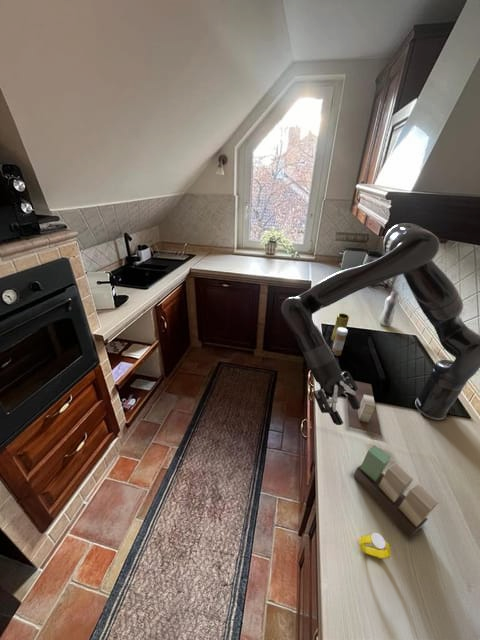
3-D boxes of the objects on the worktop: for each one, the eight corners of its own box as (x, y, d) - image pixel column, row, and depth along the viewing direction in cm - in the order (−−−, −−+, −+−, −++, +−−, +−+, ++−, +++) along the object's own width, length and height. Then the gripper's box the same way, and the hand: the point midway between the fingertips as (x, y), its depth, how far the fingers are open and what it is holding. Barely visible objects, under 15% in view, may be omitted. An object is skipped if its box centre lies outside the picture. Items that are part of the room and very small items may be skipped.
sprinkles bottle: (333, 349, 123) (340, 325, 117) (342, 353, 121) (349, 329, 114) (329, 353, 120) (335, 329, 114) (338, 357, 118) (345, 333, 111)
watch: (384, 550, 57) (393, 538, 54) (387, 565, 55) (396, 554, 52) (356, 539, 59) (363, 527, 56) (357, 554, 56) (364, 542, 53)
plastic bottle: (388, 328, 141) (401, 296, 131) (376, 324, 145) (387, 292, 135) (392, 324, 145) (404, 292, 135) (379, 320, 149) (390, 288, 139)
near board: (344, 380, 105) (349, 363, 100) (370, 386, 102) (377, 368, 98) (348, 428, 85) (355, 410, 80) (380, 436, 82) (389, 418, 78)
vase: (331, 335, 134) (337, 312, 127) (343, 338, 132) (349, 314, 125) (330, 341, 129) (336, 317, 122) (343, 344, 127) (350, 319, 120)
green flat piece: (375, 481, 66) (385, 464, 62) (359, 468, 69) (368, 450, 65) (381, 474, 68) (390, 457, 64) (365, 461, 71) (373, 444, 67)
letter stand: (365, 467, 73) (377, 441, 67) (421, 526, 61) (442, 501, 55) (353, 475, 71) (365, 450, 65) (408, 538, 59) (429, 514, 53)
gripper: (315, 369, 64) (345, 430, 62) (346, 349, 72) (373, 403, 70) (296, 374, 70) (322, 429, 68) (326, 355, 78) (351, 404, 76)
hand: (348, 416), depth 69 cm, fingers open, 8 cm apart
